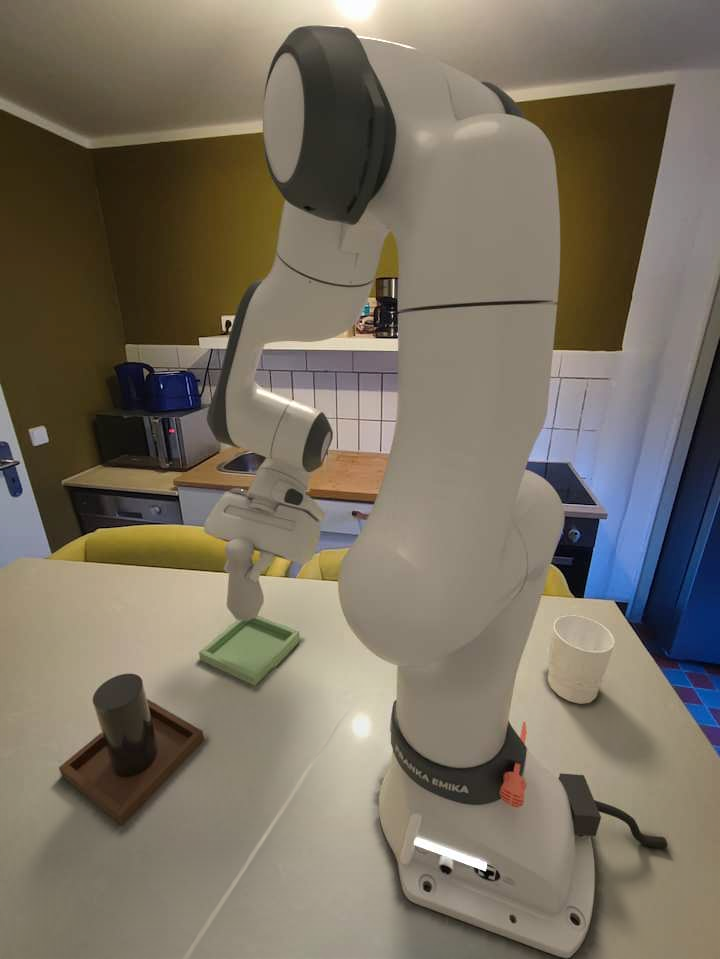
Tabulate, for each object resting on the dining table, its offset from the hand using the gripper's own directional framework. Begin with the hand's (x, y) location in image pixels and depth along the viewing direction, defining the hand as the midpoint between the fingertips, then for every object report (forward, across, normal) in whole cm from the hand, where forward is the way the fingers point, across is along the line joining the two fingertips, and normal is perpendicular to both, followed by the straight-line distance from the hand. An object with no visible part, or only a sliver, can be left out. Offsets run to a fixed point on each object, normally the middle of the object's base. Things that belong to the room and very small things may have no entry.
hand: (239, 576), depth 66 cm
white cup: (-2, +48, +23) cm, 53 cm away
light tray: (+10, 0, +11) cm, 15 cm away
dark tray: (+26, 0, -4) cm, 26 cm away
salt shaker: (+5, 0, +6) cm, 8 cm away
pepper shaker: (+25, 0, -5) cm, 25 cm away
